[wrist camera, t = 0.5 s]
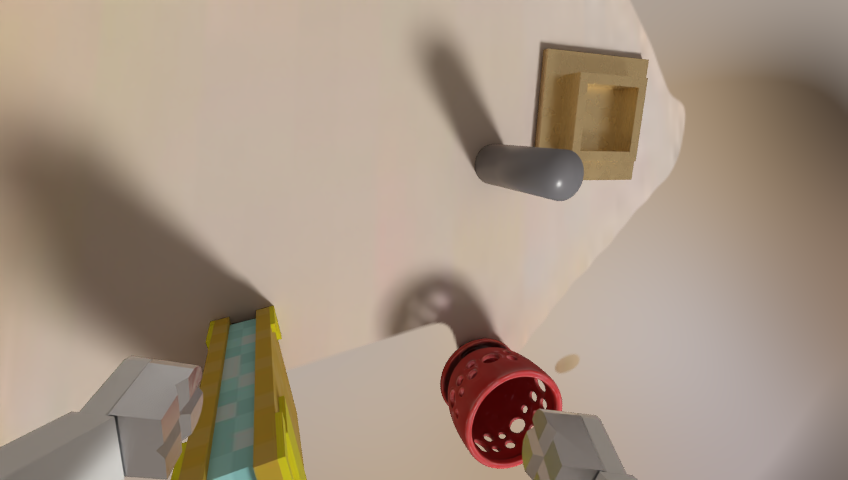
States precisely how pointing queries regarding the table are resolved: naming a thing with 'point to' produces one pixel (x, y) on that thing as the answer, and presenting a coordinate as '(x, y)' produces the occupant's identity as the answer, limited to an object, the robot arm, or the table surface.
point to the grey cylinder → (531, 170)
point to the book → (244, 408)
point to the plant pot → (494, 398)
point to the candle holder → (592, 109)
